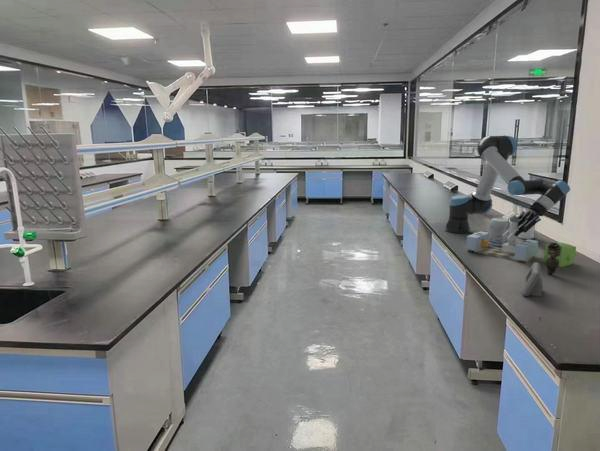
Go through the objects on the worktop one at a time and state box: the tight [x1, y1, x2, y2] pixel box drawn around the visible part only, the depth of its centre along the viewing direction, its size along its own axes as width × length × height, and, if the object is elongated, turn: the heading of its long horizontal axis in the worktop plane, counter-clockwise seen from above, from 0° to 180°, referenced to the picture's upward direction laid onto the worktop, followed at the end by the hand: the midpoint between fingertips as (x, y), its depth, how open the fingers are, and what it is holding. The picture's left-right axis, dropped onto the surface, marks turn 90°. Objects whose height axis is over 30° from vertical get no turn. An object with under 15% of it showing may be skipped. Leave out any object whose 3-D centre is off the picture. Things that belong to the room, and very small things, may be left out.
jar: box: [516, 218, 536, 240], centre depth 248 cm, size 9×8×12 cm
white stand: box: [501, 215, 519, 254], centre depth 210 cm, size 7×6×19 cm
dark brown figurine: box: [545, 242, 562, 276], centre depth 183 cm, size 6×6×15 cm
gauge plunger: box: [481, 239, 490, 247], centre depth 222 cm, size 6×3×3 cm, turn 42°
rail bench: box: [467, 245, 536, 264], centre depth 216 cm, size 30×12×2 cm, turn 42°
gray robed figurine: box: [521, 262, 543, 297], centre depth 165 cm, size 16×9×11 cm, turn 139°
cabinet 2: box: [514, 239, 539, 261], centre depth 206 cm, size 5×16×8 cm, turn 132°
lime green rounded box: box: [543, 241, 578, 268], centre depth 198 cm, size 18×10×10 cm, turn 116°
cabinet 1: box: [465, 231, 489, 250], centre depth 224 cm, size 5×16×8 cm, turn 132°
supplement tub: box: [488, 217, 510, 247], centre depth 233 cm, size 10×10×15 cm
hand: (506, 238), depth 210 cm, fingers open, 4 cm apart
